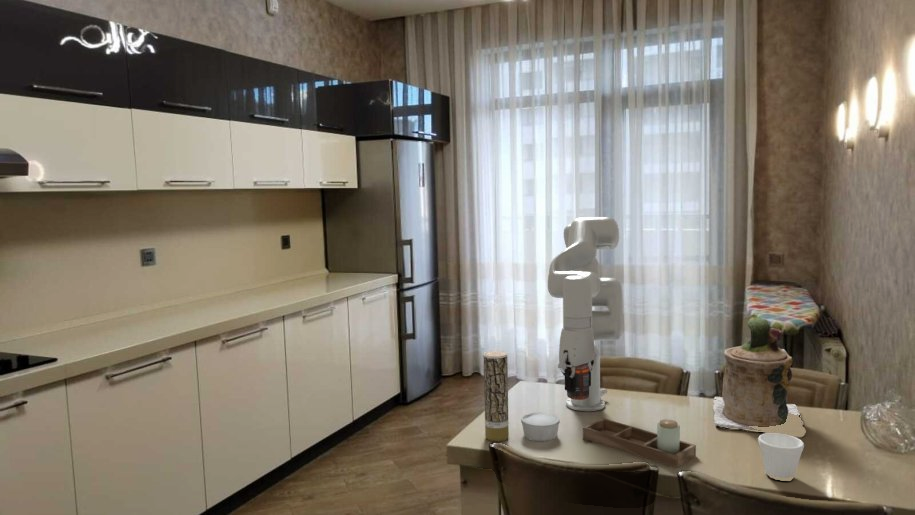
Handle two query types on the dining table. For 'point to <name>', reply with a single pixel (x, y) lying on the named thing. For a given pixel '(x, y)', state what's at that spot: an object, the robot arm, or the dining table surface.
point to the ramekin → (540, 426)
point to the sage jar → (668, 436)
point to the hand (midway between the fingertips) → (577, 387)
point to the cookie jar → (755, 381)
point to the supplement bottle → (580, 382)
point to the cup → (780, 453)
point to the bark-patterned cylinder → (496, 395)
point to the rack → (636, 442)
